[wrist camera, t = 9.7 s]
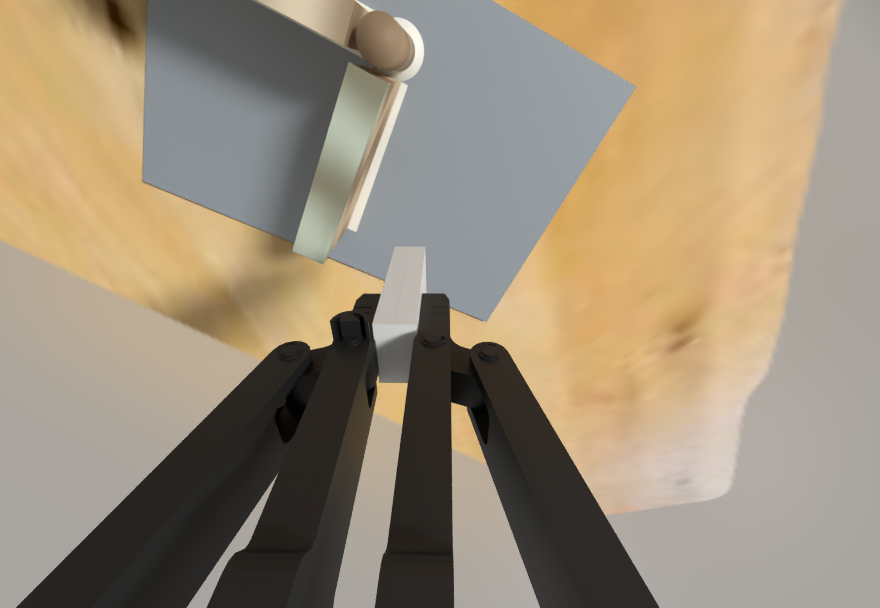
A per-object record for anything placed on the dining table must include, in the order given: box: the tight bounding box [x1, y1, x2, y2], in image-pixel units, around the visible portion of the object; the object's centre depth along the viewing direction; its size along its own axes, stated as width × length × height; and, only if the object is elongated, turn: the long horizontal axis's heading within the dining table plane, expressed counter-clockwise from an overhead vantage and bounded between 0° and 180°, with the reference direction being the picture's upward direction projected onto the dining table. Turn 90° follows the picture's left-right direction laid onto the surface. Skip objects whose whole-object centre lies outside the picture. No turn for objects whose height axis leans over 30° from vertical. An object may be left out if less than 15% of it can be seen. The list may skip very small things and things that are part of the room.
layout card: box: [143, 0, 636, 322], centre depth 28 cm, size 32×22×1 cm
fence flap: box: [292, 62, 401, 264], centre depth 25 cm, size 12×2×7 cm, turn 154°
